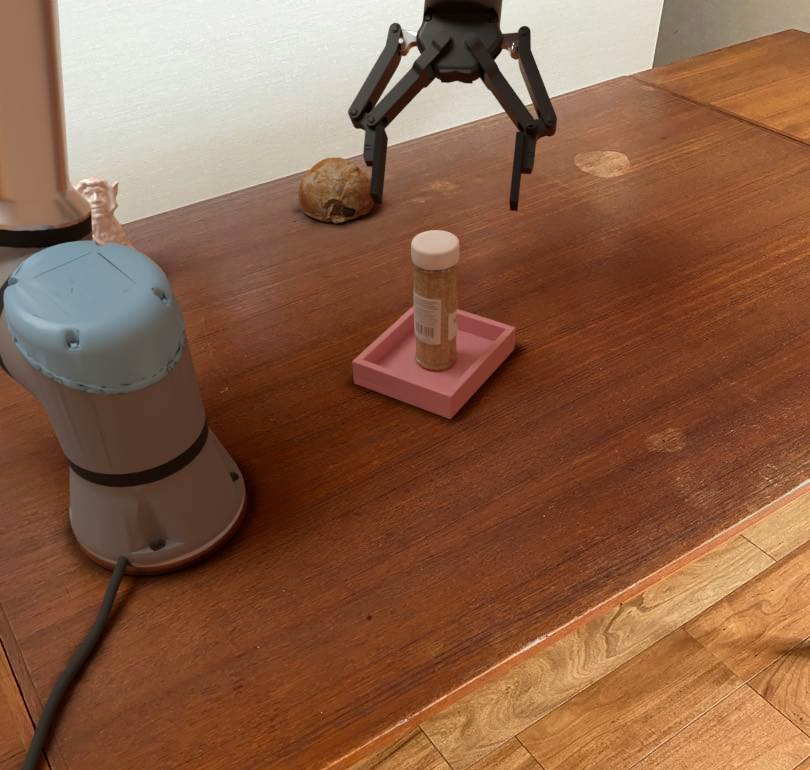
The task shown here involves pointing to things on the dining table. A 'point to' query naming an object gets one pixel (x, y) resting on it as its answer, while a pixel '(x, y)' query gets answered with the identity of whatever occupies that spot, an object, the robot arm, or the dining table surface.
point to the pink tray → (434, 389)
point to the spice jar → (435, 298)
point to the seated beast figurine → (103, 210)
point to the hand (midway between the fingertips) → (443, 203)
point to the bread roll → (335, 191)
